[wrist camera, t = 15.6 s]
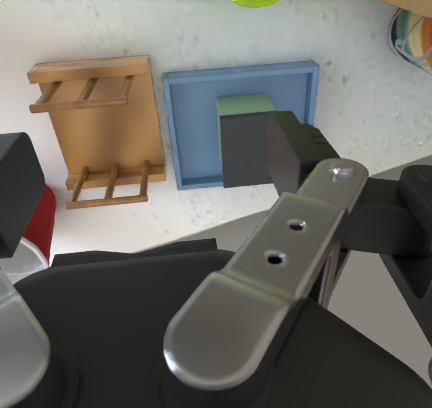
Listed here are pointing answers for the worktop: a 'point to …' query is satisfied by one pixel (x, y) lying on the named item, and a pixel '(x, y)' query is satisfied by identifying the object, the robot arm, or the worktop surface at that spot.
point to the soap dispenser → (254, 3)
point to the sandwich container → (413, 6)
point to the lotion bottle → (412, 38)
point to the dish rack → (103, 124)
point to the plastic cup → (33, 242)
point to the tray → (207, 111)
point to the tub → (243, 139)
